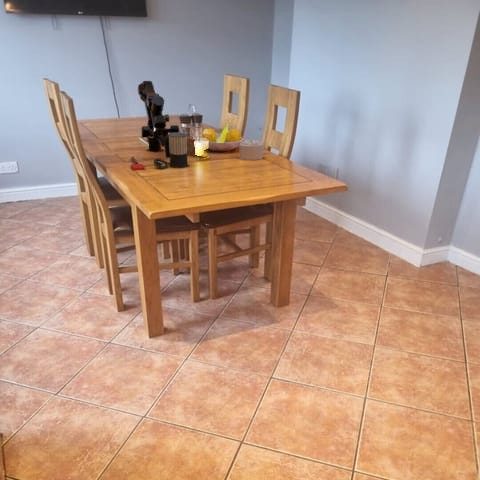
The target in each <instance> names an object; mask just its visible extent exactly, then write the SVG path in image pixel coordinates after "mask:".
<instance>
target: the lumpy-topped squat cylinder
mask: <svg viewBox="0 0 480 480" xmlns="http://www.w3.org/2000/svg"><path fill="white" fill-rule="evenodd" d="M238 148H239V149H238V151H239V152H238V154H239V156H238V159H239V160H243V161H257V160H261V159H264V151H265V150H264V149H265V145H264V143H263V142H262V141H261V140H258V139H252V140H250V139H249V138H246V139H243V141H242V143H240V146H239V147H238Z"/></svg>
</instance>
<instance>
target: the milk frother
mask: <svg viewBox="0 0 480 480" xmlns="http://www.w3.org/2000/svg"><path fill="white" fill-rule="evenodd" d="M187 138H188V134H187V133H185V132H179V133H178V132H176V133H168V136H166V137H165V138H164V147H163V148H164V157H165V158H167V159H169V162H168V161H166V160H164V159H161V158H154V160H153V165H154V166H155V167H157V168H158V169H166V168H168V167H169V166H170V167H171V168H177V169H178V168H180V169H181V168H186V167H188V166H189V164H188V163H189V162H188V154H187Z"/></svg>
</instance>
